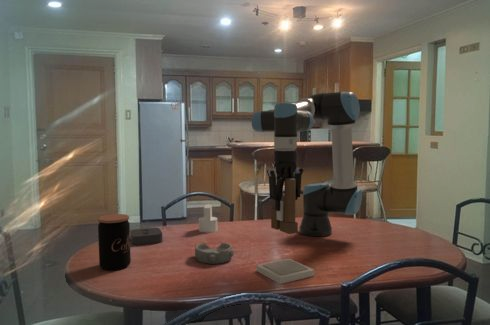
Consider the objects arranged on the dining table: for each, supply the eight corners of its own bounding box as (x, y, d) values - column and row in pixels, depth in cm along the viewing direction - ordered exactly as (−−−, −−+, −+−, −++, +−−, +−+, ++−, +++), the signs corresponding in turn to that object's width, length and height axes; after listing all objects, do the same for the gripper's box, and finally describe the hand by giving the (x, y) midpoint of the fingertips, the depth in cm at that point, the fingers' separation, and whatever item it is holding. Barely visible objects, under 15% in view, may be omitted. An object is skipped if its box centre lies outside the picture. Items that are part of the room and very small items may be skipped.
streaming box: (129, 239, 181) (129, 229, 181) (158, 237, 186) (158, 227, 185) (132, 247, 169) (132, 237, 169) (163, 244, 174) (163, 234, 174)
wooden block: (279, 226, 143) (279, 175, 142) (298, 233, 134) (298, 178, 133) (270, 228, 141) (270, 176, 140) (289, 234, 132) (289, 179, 131)
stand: (256, 270, 141) (256, 263, 141) (289, 263, 148) (289, 257, 148) (279, 284, 129) (280, 276, 129) (314, 275, 136) (314, 268, 136)
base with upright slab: (216, 233, 191) (216, 208, 190) (197, 233, 191) (197, 208, 190) (218, 228, 200) (218, 204, 199) (199, 228, 200) (199, 204, 199)
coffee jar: (113, 273, 139) (111, 221, 137) (93, 268, 144) (91, 218, 143) (137, 264, 148) (135, 215, 146) (117, 259, 153) (115, 212, 152)
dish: (191, 256, 158) (190, 243, 157) (224, 251, 163) (224, 239, 163) (202, 268, 144) (201, 254, 144) (238, 262, 150) (238, 249, 149)
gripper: (270, 151, 127) (270, 224, 129) (312, 149, 136) (311, 218, 138) (258, 150, 134) (258, 220, 136) (298, 148, 142) (297, 214, 144)
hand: (285, 219), depth 137 cm, fingers closed on wooden block, 4 cm apart
